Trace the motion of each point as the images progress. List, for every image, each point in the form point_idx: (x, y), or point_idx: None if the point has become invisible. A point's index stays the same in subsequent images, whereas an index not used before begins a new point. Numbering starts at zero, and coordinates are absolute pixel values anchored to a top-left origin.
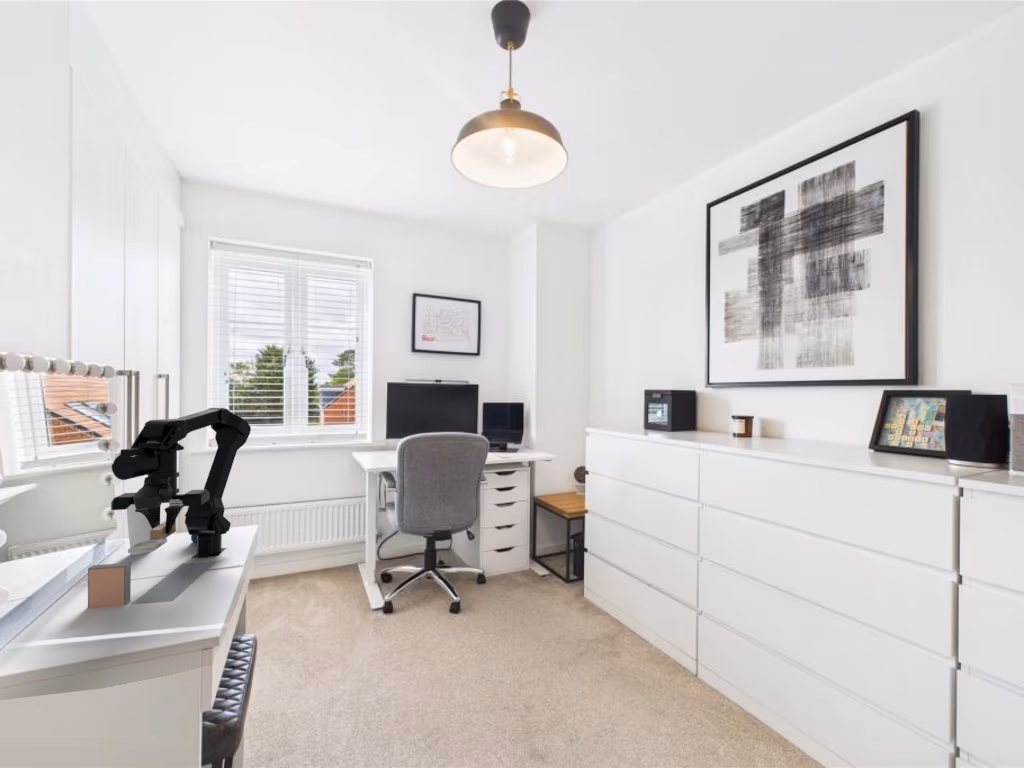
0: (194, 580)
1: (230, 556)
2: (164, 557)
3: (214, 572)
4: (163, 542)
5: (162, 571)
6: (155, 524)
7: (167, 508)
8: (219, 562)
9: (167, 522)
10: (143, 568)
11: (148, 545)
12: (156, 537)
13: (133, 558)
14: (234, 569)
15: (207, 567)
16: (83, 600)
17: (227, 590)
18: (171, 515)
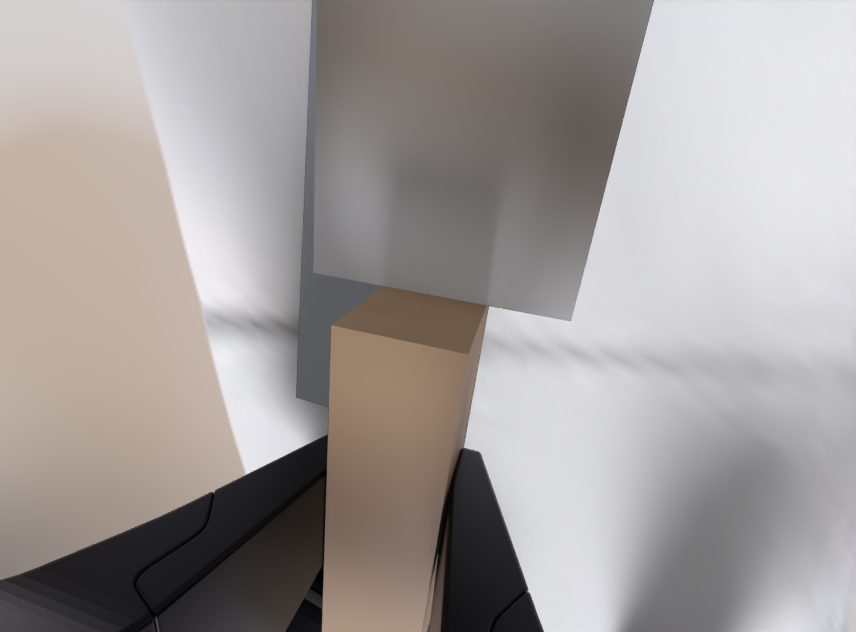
0: (307, 181)
1: (274, 448)
2: (543, 570)
3: (274, 287)
4: (322, 179)
5: (506, 403)
6: (444, 543)
7: None
8: (294, 400)
9: (267, 499)
10: (606, 483)
11: (427, 25)
12: (413, 301)
13: (683, 629)
14: (206, 288)
15: (306, 336)
16: (850, 132)
17: (136, 18)
18: (90, 568)
